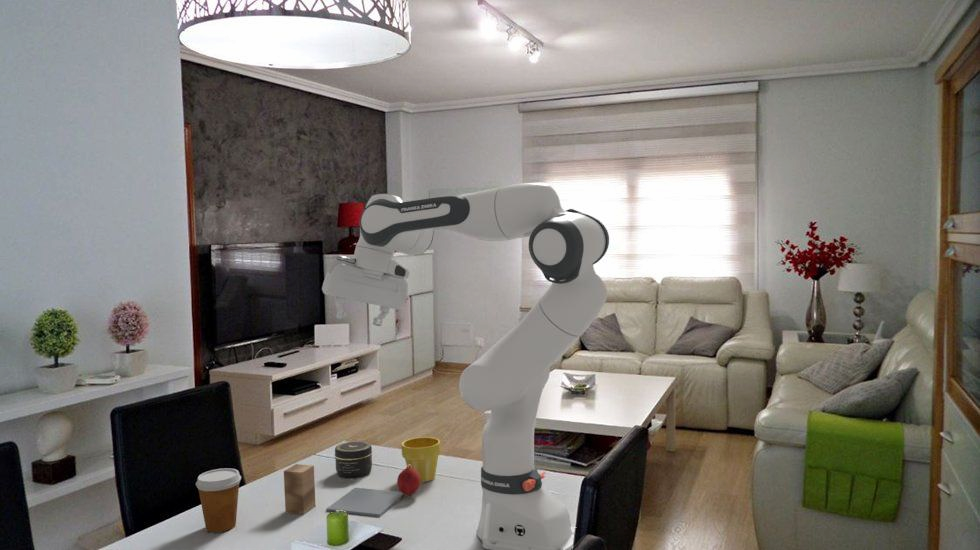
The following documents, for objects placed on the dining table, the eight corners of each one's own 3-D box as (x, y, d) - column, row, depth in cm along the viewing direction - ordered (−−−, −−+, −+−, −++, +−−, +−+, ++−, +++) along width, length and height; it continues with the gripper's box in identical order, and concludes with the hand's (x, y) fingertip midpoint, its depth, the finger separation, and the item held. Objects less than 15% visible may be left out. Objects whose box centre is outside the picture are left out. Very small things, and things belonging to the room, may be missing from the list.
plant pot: (396, 476, 184) (394, 441, 184) (430, 469, 190) (429, 434, 189) (413, 488, 176) (412, 450, 175) (448, 479, 181) (447, 443, 181)
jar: (368, 479, 183) (367, 451, 183) (331, 480, 183) (330, 452, 183) (375, 466, 193) (374, 440, 193) (340, 467, 193) (339, 440, 193)
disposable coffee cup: (216, 539, 148) (213, 485, 147) (189, 530, 153) (186, 477, 152) (252, 523, 156) (250, 471, 155) (225, 515, 161) (223, 465, 160)
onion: (416, 502, 166) (417, 470, 166) (394, 500, 167) (394, 468, 167) (423, 492, 172) (423, 461, 172) (401, 490, 173) (401, 459, 172)
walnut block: (315, 506, 165) (313, 465, 165) (304, 514, 160) (302, 472, 160) (297, 504, 167) (295, 464, 166) (285, 512, 162) (283, 471, 161)
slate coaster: (405, 494, 171) (405, 492, 171) (380, 516, 158) (380, 514, 158) (355, 489, 175) (355, 487, 175) (326, 511, 162) (326, 508, 162)
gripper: (337, 253, 149) (323, 315, 148) (415, 273, 162) (402, 330, 161) (325, 252, 154) (311, 312, 153) (401, 271, 167) (389, 327, 166)
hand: (358, 322), depth 157 cm, fingers open, 8 cm apart
